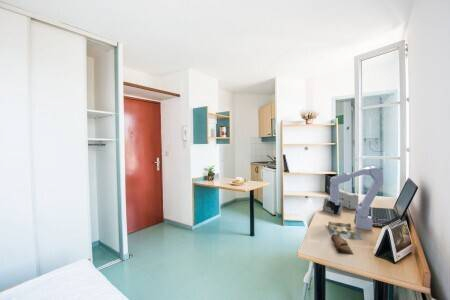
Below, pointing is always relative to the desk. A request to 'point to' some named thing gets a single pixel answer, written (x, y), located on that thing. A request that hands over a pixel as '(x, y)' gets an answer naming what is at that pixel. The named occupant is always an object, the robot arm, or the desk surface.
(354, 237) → the keyhole board
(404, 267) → the desk surface
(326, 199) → the digital clock
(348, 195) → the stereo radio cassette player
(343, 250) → the sunglasses case
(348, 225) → the panel
